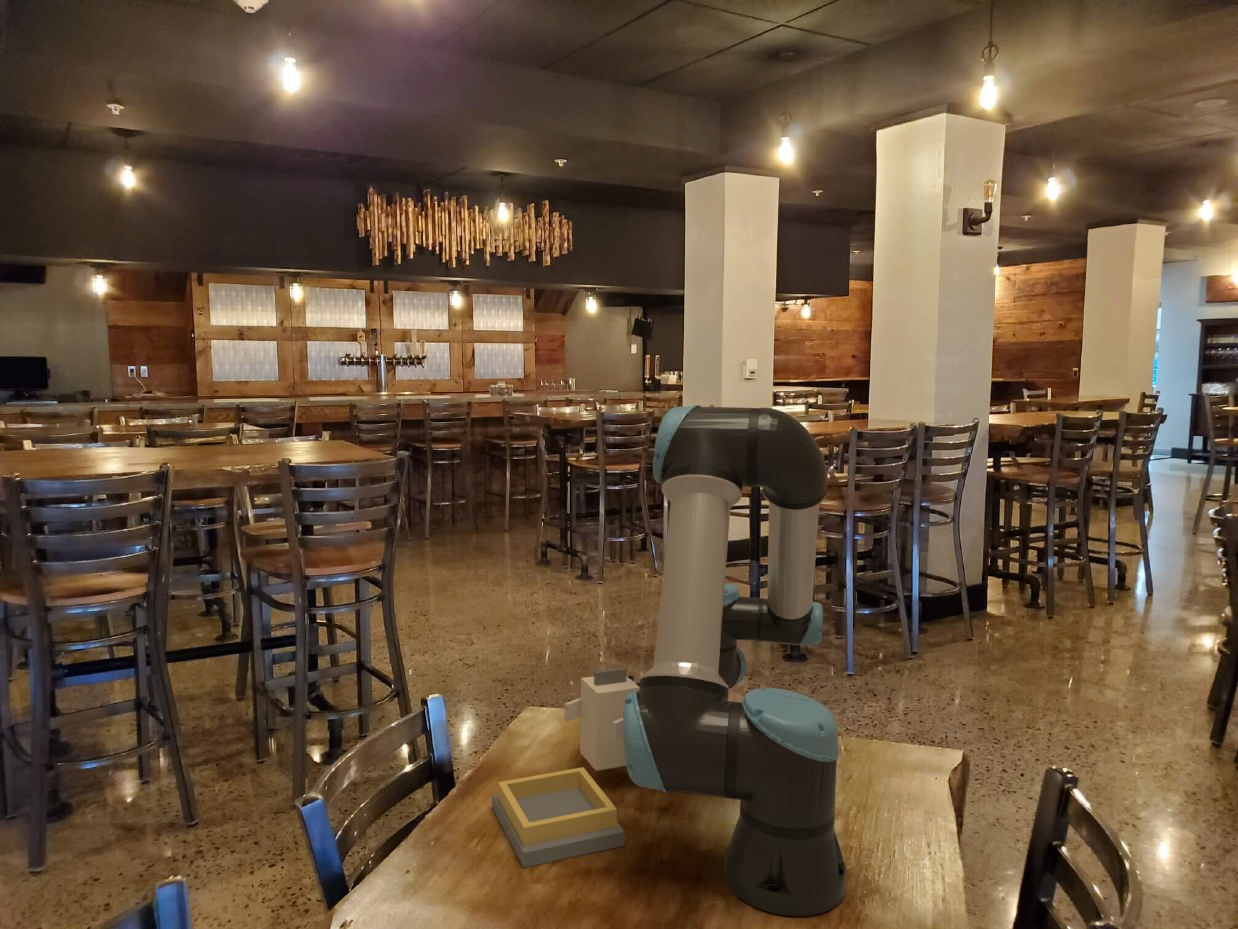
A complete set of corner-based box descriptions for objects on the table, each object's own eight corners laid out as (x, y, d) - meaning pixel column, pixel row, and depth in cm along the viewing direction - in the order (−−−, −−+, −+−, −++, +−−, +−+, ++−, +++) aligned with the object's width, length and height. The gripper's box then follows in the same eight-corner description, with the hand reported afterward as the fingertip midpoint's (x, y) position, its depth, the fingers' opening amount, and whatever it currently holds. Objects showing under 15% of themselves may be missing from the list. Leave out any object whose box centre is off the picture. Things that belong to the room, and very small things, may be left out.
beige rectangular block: (638, 763, 130) (640, 675, 129) (596, 770, 127) (597, 680, 126) (620, 745, 137) (622, 660, 135) (579, 751, 134) (581, 665, 133)
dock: (624, 845, 114) (624, 814, 113) (523, 867, 108) (523, 834, 108) (582, 790, 129) (583, 762, 128) (492, 807, 123) (492, 778, 123)
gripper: (734, 724, 138) (644, 769, 121) (632, 689, 152) (539, 725, 136) (735, 679, 137) (645, 718, 120) (633, 648, 152) (540, 679, 135)
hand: (589, 721), depth 128 cm, fingers closed on beige rectangular block, 9 cm apart
